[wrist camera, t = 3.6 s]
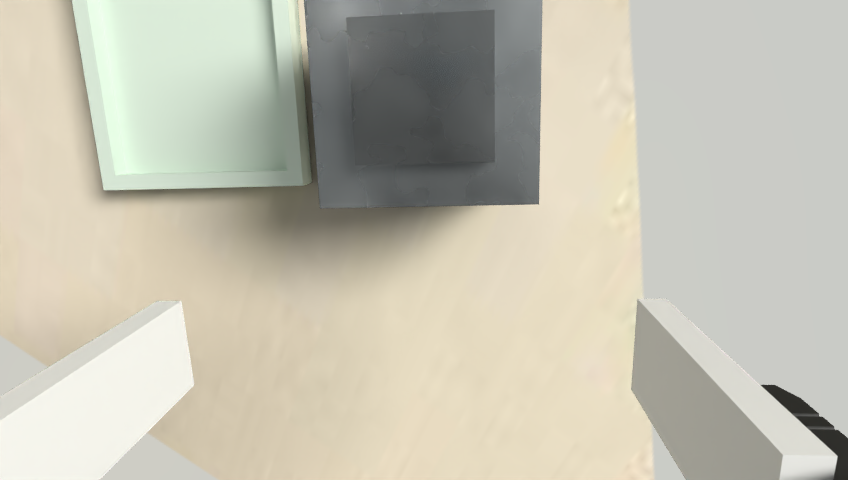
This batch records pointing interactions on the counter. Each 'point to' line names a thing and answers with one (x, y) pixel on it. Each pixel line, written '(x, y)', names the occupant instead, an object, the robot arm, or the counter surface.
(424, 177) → the unit
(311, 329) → the counter surface
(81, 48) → the tray
